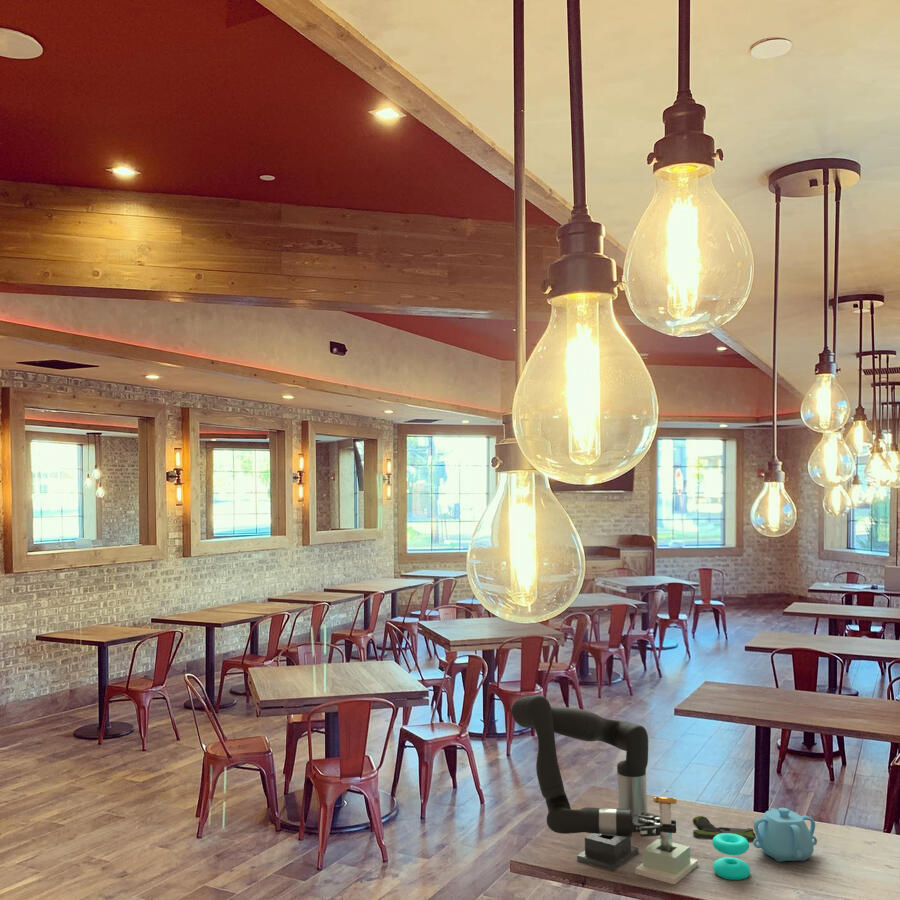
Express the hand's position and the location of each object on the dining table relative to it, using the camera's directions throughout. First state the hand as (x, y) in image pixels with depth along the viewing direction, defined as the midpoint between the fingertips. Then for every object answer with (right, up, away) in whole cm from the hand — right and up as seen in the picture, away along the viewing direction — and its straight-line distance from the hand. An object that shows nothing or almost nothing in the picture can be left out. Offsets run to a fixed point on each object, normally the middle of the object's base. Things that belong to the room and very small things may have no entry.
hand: (675, 826), depth 252 cm
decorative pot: (+35, -12, +8) cm, 38 cm away
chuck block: (-18, -13, +10) cm, 24 cm away
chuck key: (-3, -10, 0) cm, 10 cm away
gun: (+22, -14, +27) cm, 38 cm away
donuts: (+15, -12, -4) cm, 20 cm away
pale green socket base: (-2, -12, 0) cm, 13 cm away
